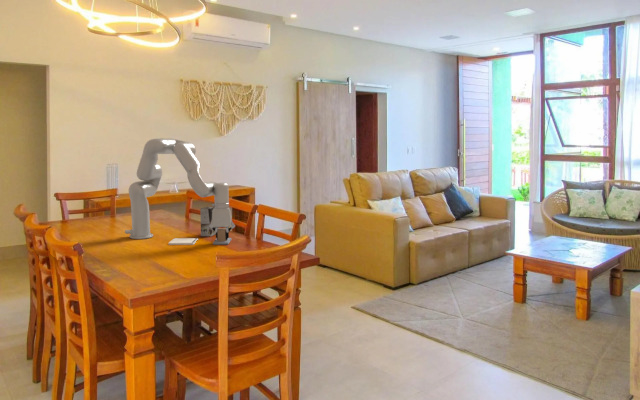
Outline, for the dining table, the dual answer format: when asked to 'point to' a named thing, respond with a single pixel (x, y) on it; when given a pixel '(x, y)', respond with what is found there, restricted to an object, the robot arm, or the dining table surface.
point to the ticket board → (183, 241)
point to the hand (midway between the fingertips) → (222, 238)
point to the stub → (222, 237)
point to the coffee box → (206, 221)
